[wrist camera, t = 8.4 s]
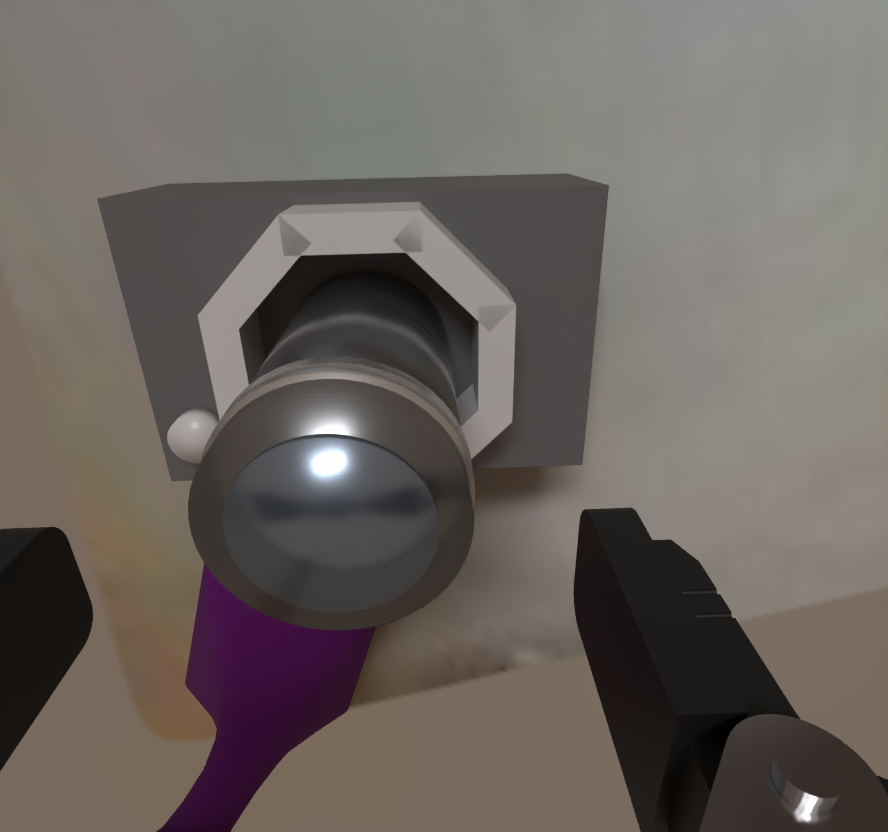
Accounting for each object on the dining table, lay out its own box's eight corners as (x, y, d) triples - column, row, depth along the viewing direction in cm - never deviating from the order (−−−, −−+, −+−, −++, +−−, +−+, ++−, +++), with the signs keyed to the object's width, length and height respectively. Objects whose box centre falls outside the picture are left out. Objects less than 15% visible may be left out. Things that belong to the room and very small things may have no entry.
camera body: (567, 173, 21) (632, 191, 14) (552, 404, 25) (598, 497, 18) (167, 184, 20) (56, 207, 14) (217, 416, 24) (147, 516, 18)
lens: (448, 263, 17) (480, 390, 9) (452, 417, 19) (481, 633, 11) (275, 269, 17) (144, 404, 9) (299, 423, 19) (212, 647, 11)
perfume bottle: (207, 630, 30) (-48, 1237, 13) (228, 512, 26) (-71, 1112, 10) (353, 657, 31) (281, 1244, 15) (389, 546, 28) (349, 1131, 11)
